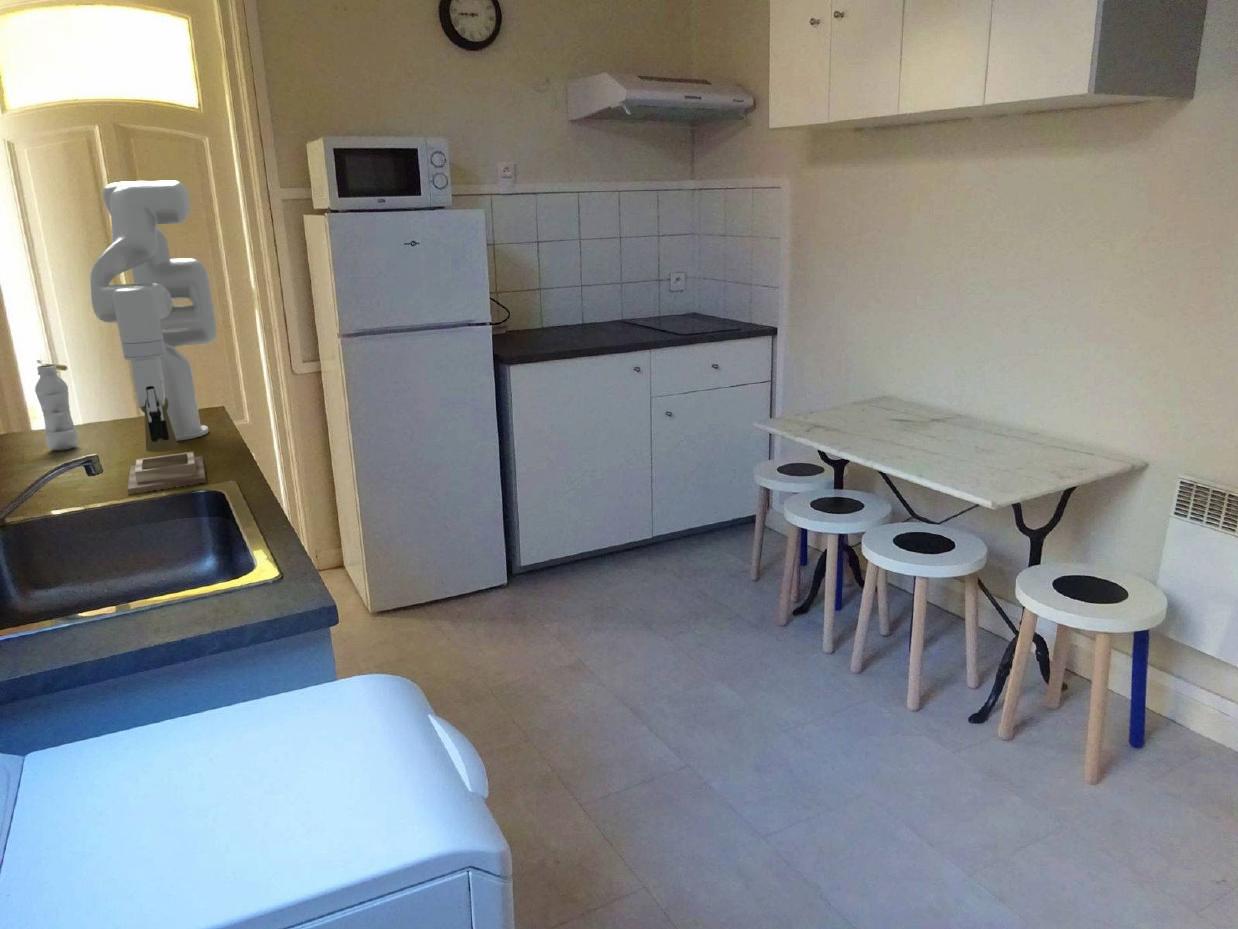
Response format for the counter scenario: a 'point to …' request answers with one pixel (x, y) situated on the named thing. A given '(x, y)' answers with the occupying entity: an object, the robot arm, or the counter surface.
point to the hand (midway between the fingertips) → (160, 437)
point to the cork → (160, 443)
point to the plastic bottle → (55, 409)
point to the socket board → (165, 472)
